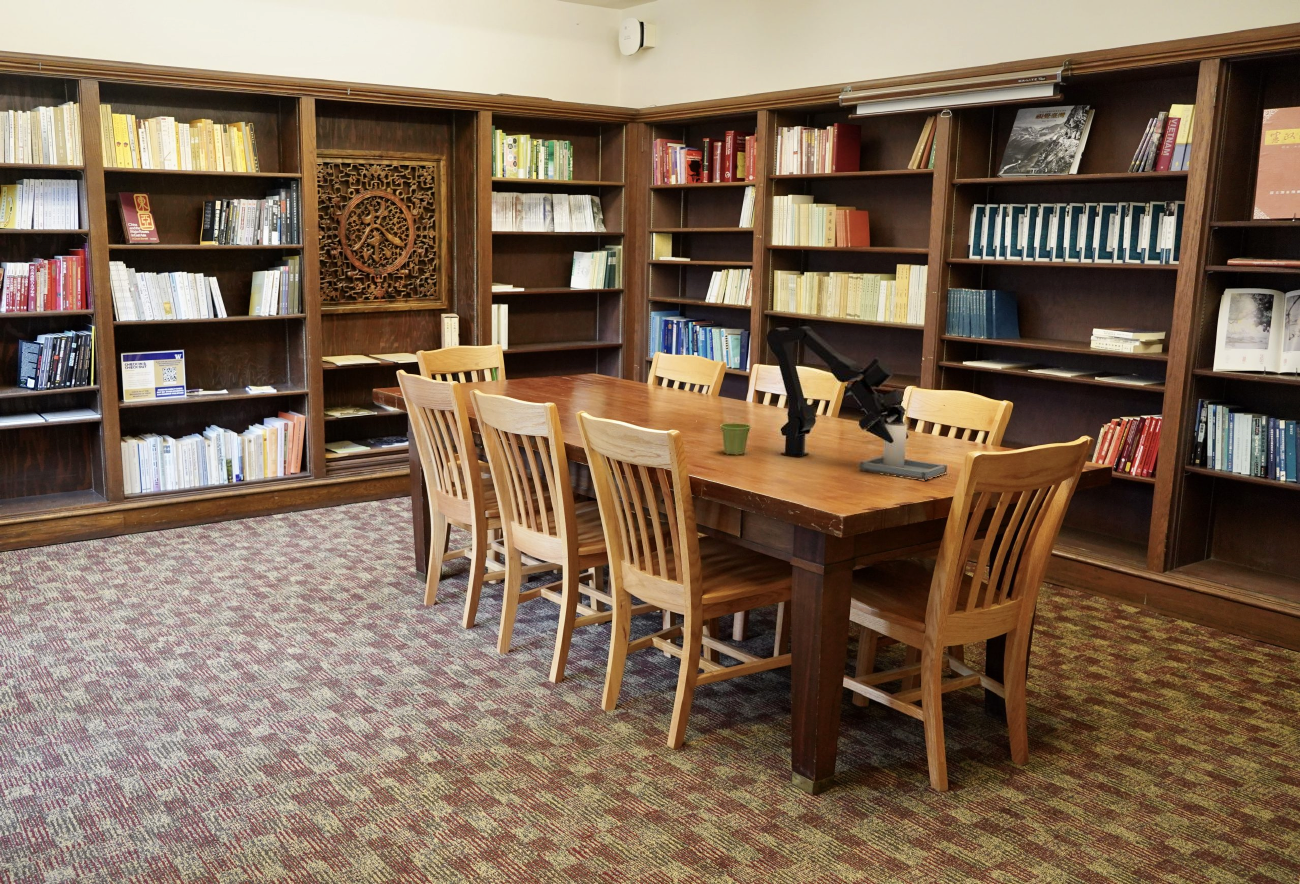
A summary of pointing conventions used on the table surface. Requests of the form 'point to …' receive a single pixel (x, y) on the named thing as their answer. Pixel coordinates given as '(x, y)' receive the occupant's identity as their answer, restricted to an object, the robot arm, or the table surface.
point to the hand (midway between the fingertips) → (899, 440)
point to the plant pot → (735, 437)
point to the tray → (910, 468)
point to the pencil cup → (895, 445)
